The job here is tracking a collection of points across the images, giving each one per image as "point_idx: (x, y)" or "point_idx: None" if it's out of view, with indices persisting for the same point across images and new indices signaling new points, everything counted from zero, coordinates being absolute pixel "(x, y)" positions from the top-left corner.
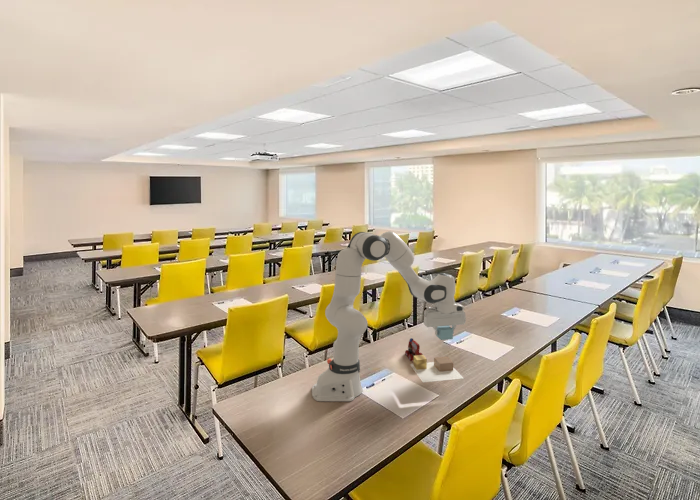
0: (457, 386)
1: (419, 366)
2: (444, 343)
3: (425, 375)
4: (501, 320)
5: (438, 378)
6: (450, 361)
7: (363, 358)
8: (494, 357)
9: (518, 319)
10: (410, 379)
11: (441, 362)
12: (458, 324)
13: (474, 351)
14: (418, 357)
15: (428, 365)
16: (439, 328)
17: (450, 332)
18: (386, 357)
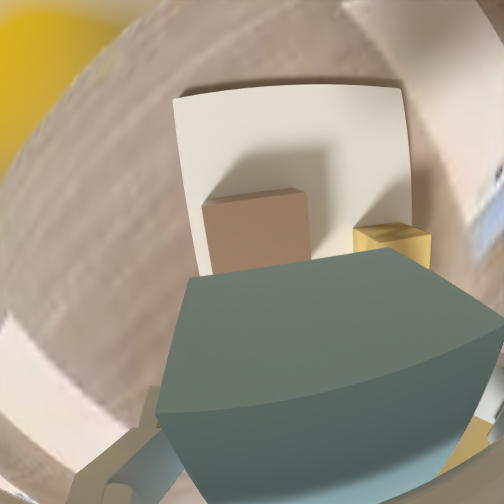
0: (231, 48)
1: (396, 226)
2: None
3: (377, 152)
4: (34, 492)
5: (320, 108)
6: (217, 223)
7: None
8: (9, 337)
9: (7, 480)
10: (431, 151)
11: (287, 210)
12: (6, 500)
13: (73, 395)
14: None
15: None
16: (476, 405)
17: (241, 339)
18: None
